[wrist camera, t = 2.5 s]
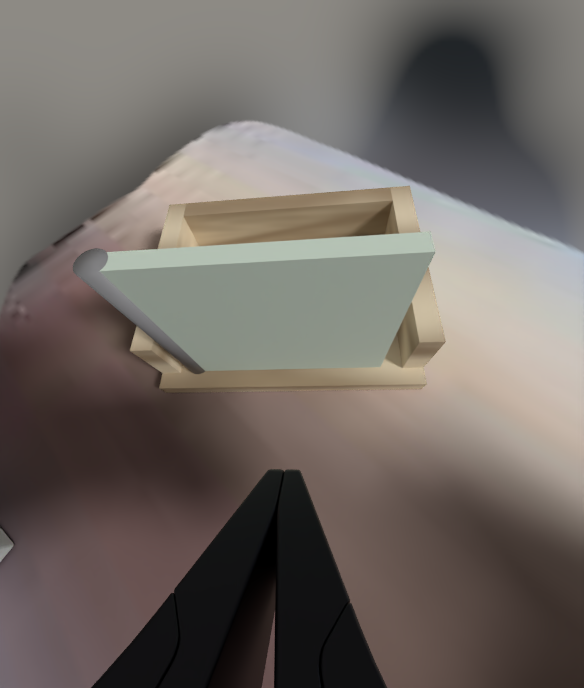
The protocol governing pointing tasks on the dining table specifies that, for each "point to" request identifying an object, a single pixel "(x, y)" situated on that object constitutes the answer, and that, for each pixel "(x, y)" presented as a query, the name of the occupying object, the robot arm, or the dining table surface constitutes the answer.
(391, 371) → the wooden tray
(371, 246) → the door
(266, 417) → the dining table surface
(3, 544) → the small box
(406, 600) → the dining table surface
